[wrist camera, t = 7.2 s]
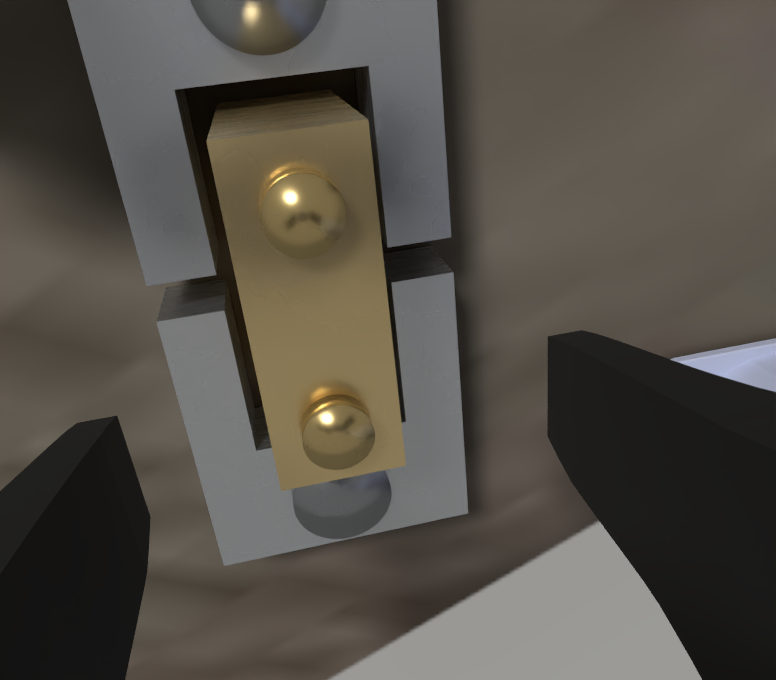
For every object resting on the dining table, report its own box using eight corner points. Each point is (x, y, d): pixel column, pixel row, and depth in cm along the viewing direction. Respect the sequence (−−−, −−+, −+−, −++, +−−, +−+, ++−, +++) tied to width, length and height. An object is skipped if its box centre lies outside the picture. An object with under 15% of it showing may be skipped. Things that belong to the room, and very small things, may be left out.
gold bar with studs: (363, 349, 22) (411, 480, 16) (270, 366, 22) (282, 507, 15) (328, 89, 18) (374, 123, 12) (217, 103, 18) (204, 146, 12)
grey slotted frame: (448, 468, 25) (472, 523, 22) (225, 514, 24) (223, 577, 21) (403, -123, 17) (433, -151, 14) (65, -94, 16) (29, -118, 13)
